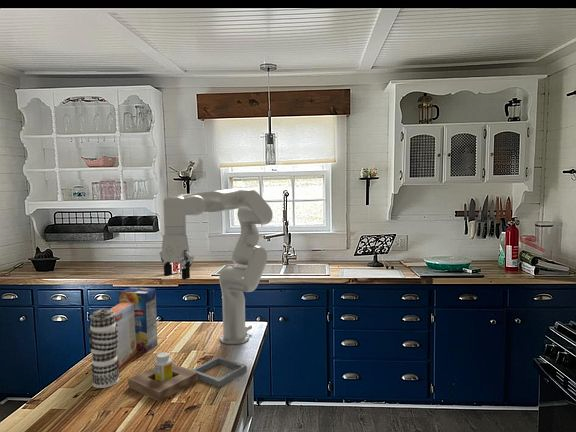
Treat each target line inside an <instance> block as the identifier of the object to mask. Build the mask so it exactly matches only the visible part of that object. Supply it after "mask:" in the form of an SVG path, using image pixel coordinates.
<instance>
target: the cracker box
mask: <svg viewBox="0 0 576 432" xmlns="http://www.w3.org/2000/svg"><path fill="white" fill-rule="evenodd" d="M110 309H111V310H112V311H113V312H115V313H116V314H115V316H114V317H115V322H116V324H117V325H118V326H116V327H115V329H116V330H117V331H118V332H117V333H116V334H117V335H118V337H117V338H116V340H117V341H118V343H117V345H118V347H117V349H116V351H117V352H116V354H117V359H118V361H119V362H118V365H119V367H118V369H120V368H121V367H122V366H123V365H125V364H126V363H127V362H128V361H129V360H130V359H132V358H133V357H134V356H135V355H136V354H138V353H137V352H138V351H136V334H135V317H134V303H125V302H122V303H120V302H119V303H117V304H116V305H114V306H113V307H111V308H110Z"/></svg>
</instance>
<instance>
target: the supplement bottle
mask: <svg viewBox="0 0 576 432" xmlns="http://www.w3.org/2000/svg"><path fill="white" fill-rule="evenodd" d="M172 363H173V362H172V358H170V354H169V353H168V352H160V353H157V354H156V360H155V361H154V367H155V381H157V382H160V383H163V382H165V381H167V380H169V379H171V378H172Z"/></svg>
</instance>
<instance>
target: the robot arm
mask: <svg viewBox="0 0 576 432" xmlns="http://www.w3.org/2000/svg"><path fill="white" fill-rule="evenodd" d="M162 205H163V225H164V226H163V228H164V229H163V230H164V231H163V232H164V234H163V236H162V243H161V251H160V252H159V256H160V260H161V262H162V266H163V276H164V277H169V276H172V275H173V265H172V263H173V264H180V265H181V267H182V268H181V280H187V279H190V278H191V275H190V274H191V271H190V268H191V267H192V264H193V261H194V259H195V258H194V257H195V256H194V255H193V254H191V253H190V250H189V248H190V246H189V242H188V241H189V240H188V236H187V226H186V223H187V222H186V220H187V219H186V216H199V215H202V214H203V213H204V212H205V213H220V212H224V211H225V212H226V211H231V210H237V219H238V222H239V226H240V235H239V237H238V240H237V242H236V244H235V247H234V250H233V251H232V255H231V260H232V262H233V264H234V265H237V266H234V265H233V266H231V265H230V266H226V267H224V268H222V270H221V271H220V273H219V279H218V280H219V285H220V289H221V300H222V330H223V331H222V334H221V335H220V336H219V341H220V342H221V343H222V344H224V345H232V346H233V345H240V344H244V343H247V342H248V341H249V339H250V335H249V333H248V331H250V330H252V328H253V326H252V325H251V324H249V325H246V298H245V294H244V293H252V292H254V291H255V290H257V287H258V285H259V283H260V281H261V278H262V275H263V273H264V271H265V267H266V264H267V262H268V252H267V250H266V249H265V248H264V247H263V246H260V245H258V244H259V240H260V232H259V230H258V227H257V225H261V226H262V225H268V224H269V223H270V222H271V221H272V220H273V210H272V208H271V206H270V204H268V203H267V201H266V200H265V199H264V198H263V197H262V195H260V193H259V192H257V191H256V190H255V189H252V188H229V189H222V190H221V189H220V190H212V191H211V190H210V191H204V192H196V193H195V192H194V193H185V194H178V195H175V196H166V197H165V198H164V199H163V204H162ZM239 266H240V267H239Z"/></svg>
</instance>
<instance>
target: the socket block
mask: <svg viewBox="0 0 576 432" xmlns="http://www.w3.org/2000/svg"><path fill="white" fill-rule="evenodd" d="M127 382H128V389H131V390H134V391H136V392H138V393H139V394H142V395H144V396H147V397H149V398H151V399H152V400H156V401H157V402H160V403H161V402H162V401H164V400H166V399H167V398H169V397H171V396H173V395H174V394H177V393H178V392H181V391H182V390H184V389H186V388H188V387H190V386H192V385H194V384H195V383H197V382H199V379H198V373H197V372H195V371H192V369H189V368H186V367H183V366H181V365H178V364H175V363H173V362H172V378H171V379H169V380H167V381H165V382H163V383H160V382H157V381H155V366H154V367H151V368H149V369H146V370H145V371H143V372H141V373H138V374H136V375H134V376H132V377H129V378H128V379H127Z"/></svg>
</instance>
